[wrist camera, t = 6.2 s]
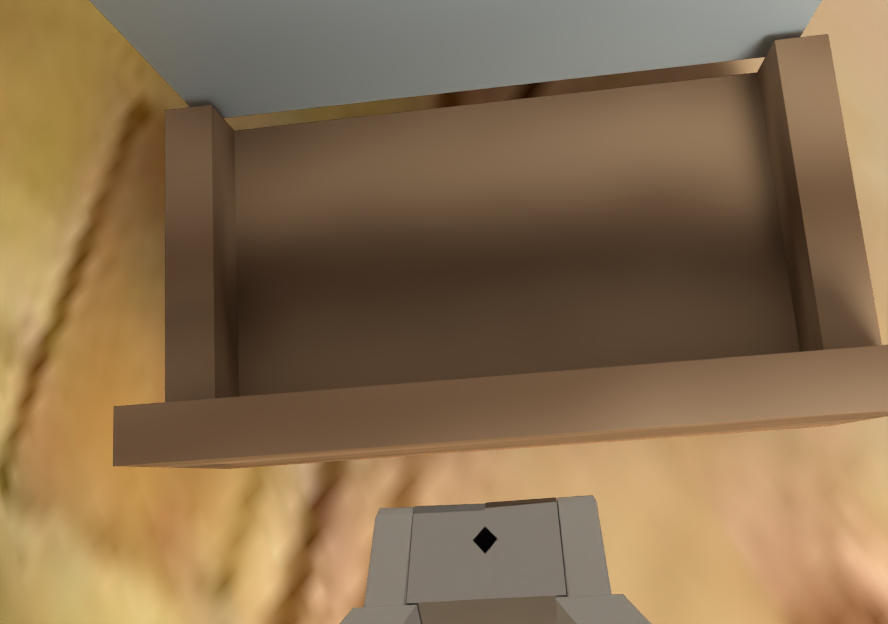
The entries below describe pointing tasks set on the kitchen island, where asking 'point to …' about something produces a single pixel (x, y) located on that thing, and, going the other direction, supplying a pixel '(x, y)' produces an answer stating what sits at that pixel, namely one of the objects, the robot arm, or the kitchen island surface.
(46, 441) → the kitchen island surface
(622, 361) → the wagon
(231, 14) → the tailgate
